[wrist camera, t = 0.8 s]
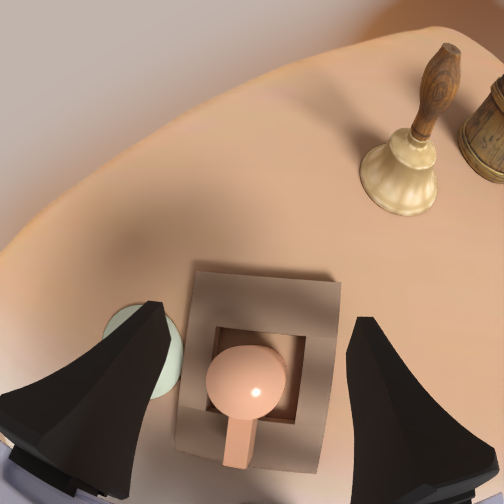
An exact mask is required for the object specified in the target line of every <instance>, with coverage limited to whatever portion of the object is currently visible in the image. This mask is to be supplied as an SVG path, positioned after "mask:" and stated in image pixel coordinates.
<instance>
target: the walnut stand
mask: <svg viewBox="0 0 504 504" xmlns="http://www.w3.org/2000/svg"><path fill="white" fill-rule="evenodd" d="M340 296H341V282H327V281H313V280H300V279H286V278H274V277H262V276H250V275H238V274H227V273H216V272H205V271H196V275H195V281H194V288H193V294H192V300H191V307H190V314H189V321H188V328H187V335H186V343H185V350H184V358H183V366H182V374H181V383H180V392H179V401H178V411H177V421H176V432H175V444H174V450H177V451H181V452H184V453H188V454H192V455H196V456H200V457H204V458H208V459H213V460H217V461H222V462H223V460H224V452H225V444H226V436H227V428H228V420H229V416H227V415H225V414H224V413H222V412H221V411H220V410H218V409H215V408H211V399H210V397H209V395H208V392H207V388H206V375H207V371H208V368H209V366H210V364H211V363H212V361H213V360H214V359H215V357H216V356H217V352H218V344H219V337H220V329H221V327H223V328H230V329H238V330H246V331H255V332H264V333H274V334H284V335H295V336H306V342H305V351H304V359H303V367H302V375H301V383H300V390H299V398H298V405H297V412H296V418H295V420H290V419H280V418H272V417H264V416H262V417H260V418H258V420H257V427H256V435H255V442H254V448H253V455H252V458H251V460H250V462H249V464H248V466H249V467H255V468H262V469H269V470H277V471H287V472H297V473H311V474H316V472H317V468H318V463H319V458H320V453H321V448H322V442H323V437H324V431H325V425H326V419H327V413H328V407H329V400H330V393H331V386H332V378H333V370H334V362H335V353H336V344H337V334H338V323H339V310H340Z"/></svg>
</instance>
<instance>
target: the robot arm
mask: <svg viewBox="0 0 504 504" xmlns="http://www.w3.org/2000/svg"><path fill="white" fill-rule="evenodd" d="M171 340H172V339H171V335H170V331H169V327H168V323H167V319H166V315H165V311H164V307H163V303H162V302H156V301H147V302H146V303H145V304H143V305H142V306H141V307H140V308H139V309H138V310H137V311H136V312H134V313H133V314H132V315H131V316H130V317H129V318H128V319H127V320H125V321H124V322H123V323H122V324H121V325H120V326H119V327H117V328H116V329H115V330H114V331H113V332H112V333H110V334H109V335H108V336H107V337H106V338H104V339H103V340H102V341H101V342H99V343H98V344H97V345H96V346H94V347H93V348H92V349H90V350H89V351H88V352H86V353H85V354H84V355H82V356H81V357H79V358H78V359H76V360H75V361H73V362H72V363H70V364H69V365H67V366H65V367H63V368H62V369H60V370H58V371H56V372H55V373H53V374H51V375H49V376H47V377H45V378H43V379H41V380H39V381H37V382H35V383H32V384H30V385H28V386H25V387H22V388H20V389H17V390H14V391H11V392H8V393H5V394H1V396H0V432H1V433H2V434H3V435H4V436H5V437H6V438H8V439H9V440H10V441H11V442H12V443H14V444H15V445H14V447H13V449H12V448H10V447H9V446H8V445H6V444H5V443H3V442H2V441H1V440H0V504H113V503H110V502H108V501H105V500H103V499H100V498H98V497H97V495H98V494H99V495H102V496H104V497H107V495H109V496H112V497H114V498H117V499H120V500H123V499H126V498H128V497H129V490H130V481H131V473H132V467H133V461H134V455H135V450H136V445H137V441H138V436H139V432H140V429H141V425H142V421H143V417H144V414H145V411H146V408H147V405H148V403H149V401H150V398H151V396H152V393H153V391H154V388H155V386H156V384H157V381H158V379H159V376H160V374H161V372H162V369H163V367H164V364H165V362H166V358H167V355H168V351H169V347H170V343H171ZM346 372H347V383H348V390H349V397H350V404H351V411H352V419H353V426H354V471H353V485H352V495H351V503H350V504H472V502H471V499H473V498H474V497H475V488H477V487H479V486H480V485H482V484H484V483H485V482H487V481H489V480H490V479H492V478H493V477H495V476H496V475H497V474H498V472H499V470H500V469H499V465H498V461H497V456H496V452H495V449H494V448H493V447H491V446H490V445H488V444H487V443H485V442H484V441H482V440H481V439H479V438H478V437H476V436H475V435H473V434H472V433H471V432H469V431H468V430H467V429H466V428H464V427H463V426H462V425H461V424H459V423H458V422H457V421H456V420H455V419H454V418H453V417H452V416H450V415H449V414H448V413H447V412H446V411H445V410H444V409H443V408H442V407H441V406H440V405H439V404H438V403H437V402H436V401H435V400H434V399H433V398H432V397H431V396H430V394H429V393H428V392H427V391H426V390H425V389H424V388H423V387H422V385H421V384H420V383H419V382H418V380H417V379H416V378H415V377H414V375H413V374H412V373H411V371H410V370H409V369H408V367H407V366H406V365H405V363H404V362H403V360H402V359H401V358H400V356H399V355H398V353H397V352H396V351H395V349H394V348H393V346H392V345H391V343H390V342H389V340H388V339H387V337H386V336H385V334H384V332H383V331H382V329H381V328H380V326H379V325H378V323H377V322H376V320H375V319H374V318H373V317H357V320H356V323H355V326H354V330H353V333H352V336H351V339H350V342H349V345H348V348H347V352H346ZM475 504H504V499H503V493H502V492H500V493H498V494H496V495H493V496H491V497H489V498H487V499H484V500H482V501H479V502H477V503H475Z"/></svg>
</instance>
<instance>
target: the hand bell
mask: <svg viewBox="0 0 504 504" xmlns="http://www.w3.org/2000/svg"><path fill="white" fill-rule="evenodd" d="M460 58H461V51H460V50H459V49H458V48H457V47H456V46H454V45H452V44H449V43H444V44H443V45H442V47H441V48H440V49H439V51H438V52H437V53H436V54H435V55H434V56H433V58H432V59H431V60H430V61H429V63H428V64H427V66H426V68H425V71H424V74H423V77H422V81H421V86H420V108H419V111H418V113H417V116H416V118H415V120H414V122H413V124H412V126H411V128H402V129H399V130H396V131H395V132H394V133H393V134H392V135H391V137H390V139H389V141H388V143H387V144H382V145H379V146H377V147H375V148H373V149H372V150H370V151H369V152H368V153H367V154H366V155H365V157H364V159H363V161H362V163H361V168H360V176H361V181H362V184H363V187H364V189H365V191H366V192H367V194H368V195H369V196H370V198H371V199H372V200H373V201H374V202H375V203H376V204H377V205H378V206H380V207H381V208H383V209H384V210H386V211H388V212H391V213H393V214H397V215H401V216H414V215H418V214H421V213H423V212H425V211H426V210H428V209H429V208H430V207H431V206H432V204H433V203H434V201H435V199H436V195H437V189H438V186H437V179H436V175H435V172H434V170H433V166H434V163H435V161H436V149H435V146H434V144H433V143H432V141H431V140H430V139H429V138H430V135H431V132H432V129H433V127H434V124H435V122H436V120H437V118H438V117H439V115H440V114H441V113H442V112H443V111H444V110H446V109H447V107H448V106H449V105H450V104H451V102H452V101H453V99H454V97H455V95H456V93H457V90H458V88H459V83H460Z"/></svg>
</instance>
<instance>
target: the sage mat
mask: <svg viewBox="0 0 504 504" xmlns="http://www.w3.org/2000/svg"><path fill="white" fill-rule="evenodd" d="M141 306H142V305H133V306H129V307H127V308H124V309H122V310H121V311H119V312H118V313H117V314H116V315H115V316H114V317H113V318H112V319H111V320H110V322H109V323H108V325H107V327H106V329H105V331H104V334H103V338H102V340H103V339H104V338H106V337H107V336H108V335H109V334H110V333H112V332H113V331H114V330H115V329H116V328H117V327H119V326H120V325H121V324H122V323H123V322H124V321H125V320H127V319H128V318H129V317H130V316H131V315H132V314H133V313H134V312H136V311H137V310H138V309H139V308H140V307H141ZM166 319H167V323H168V327H169V331H170V335H171V339H172V340H171V343H170V347H169V351H168V355H167V358H166V362H165V364H164V367H163V369H162V372H161V374H160V376H159V379H158V381H157V384H156V386H155V388H154V391H153V393H152V396H151V398H150V399H154V398H158V397H160V396H162V395H164V394H166V393H167V392H169V391H170V390H171V389H172V388H173V387H174V386H175V384H176V383H177V381H178V380H179V377H180V375H181V373H182V366H183V358H184V347H183V342H182V338H181V336H180V333H179V331H178V329H177V327H176V326H175V324H174V323H173V322H172V320H171V319H170V318H169V317H168V316H167V315H166Z"/></svg>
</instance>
